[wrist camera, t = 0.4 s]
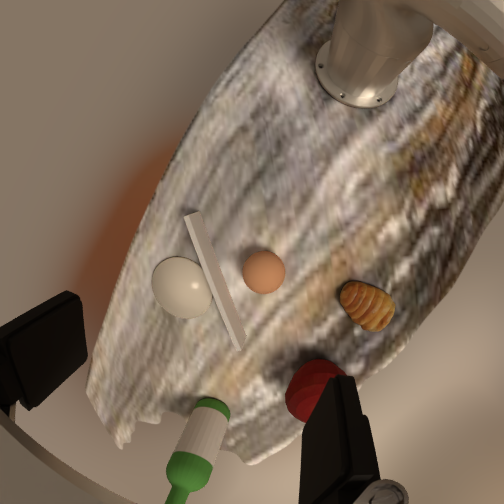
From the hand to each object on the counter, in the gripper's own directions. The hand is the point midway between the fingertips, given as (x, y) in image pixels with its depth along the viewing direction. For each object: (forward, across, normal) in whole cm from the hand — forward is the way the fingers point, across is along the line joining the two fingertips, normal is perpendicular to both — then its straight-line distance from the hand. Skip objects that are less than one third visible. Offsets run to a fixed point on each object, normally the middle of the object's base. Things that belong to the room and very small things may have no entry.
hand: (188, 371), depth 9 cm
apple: (+34, -14, +23) cm, 43 cm away
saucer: (+33, +12, +13) cm, 38 cm away
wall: (+33, +6, +10) cm, 35 cm away
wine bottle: (+34, +3, +40) cm, 53 cm away
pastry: (+33, -18, +8) cm, 39 cm away
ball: (+30, -1, +6) cm, 31 cm away
